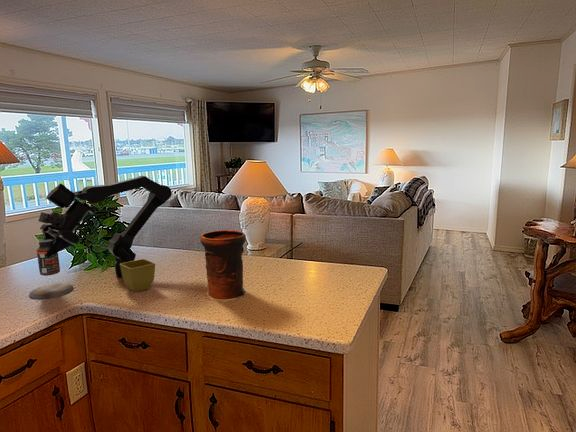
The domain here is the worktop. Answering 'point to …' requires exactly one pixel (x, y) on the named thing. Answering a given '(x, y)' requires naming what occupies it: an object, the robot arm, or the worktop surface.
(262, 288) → the worktop surface
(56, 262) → the supplement bottle
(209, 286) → the vessel
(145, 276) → the flower pot
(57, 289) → the coaster
